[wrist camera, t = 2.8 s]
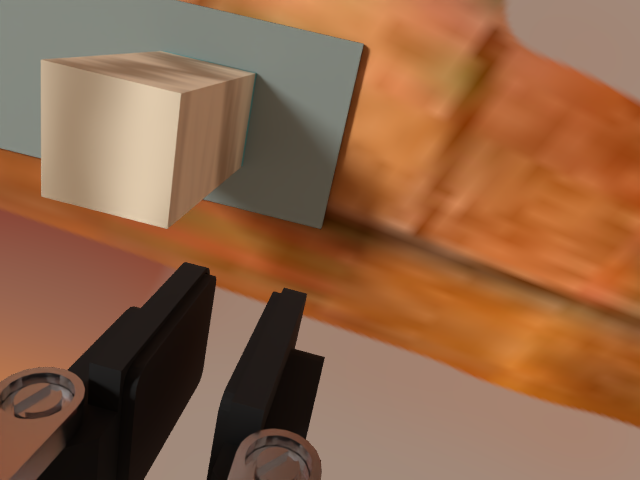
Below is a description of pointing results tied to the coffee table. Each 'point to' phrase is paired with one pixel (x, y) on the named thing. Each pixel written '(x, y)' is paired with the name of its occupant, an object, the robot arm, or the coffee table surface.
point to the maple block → (141, 132)
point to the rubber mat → (210, 45)
